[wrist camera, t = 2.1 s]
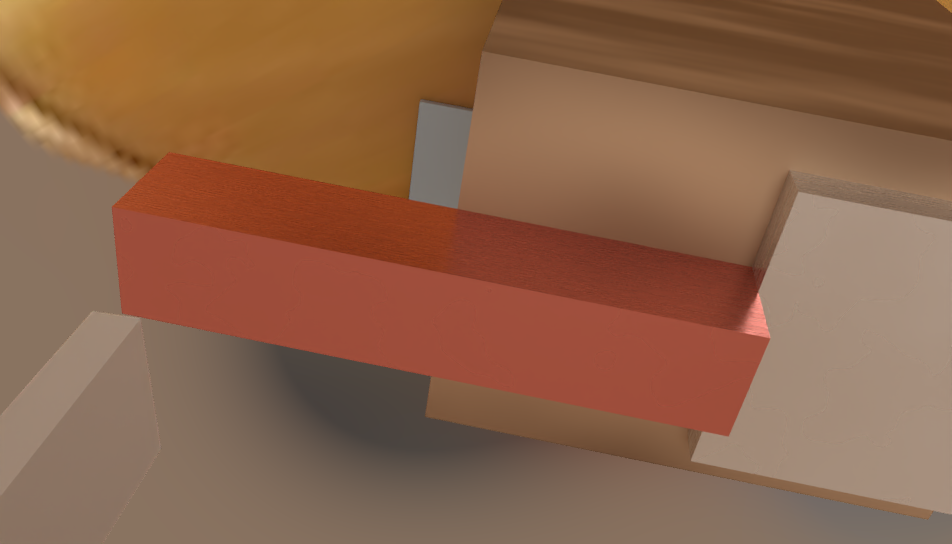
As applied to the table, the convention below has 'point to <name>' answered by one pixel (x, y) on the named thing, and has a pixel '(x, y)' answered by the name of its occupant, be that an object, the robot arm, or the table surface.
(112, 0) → the table surface
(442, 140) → the tile
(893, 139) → the stand
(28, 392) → the robot arm
